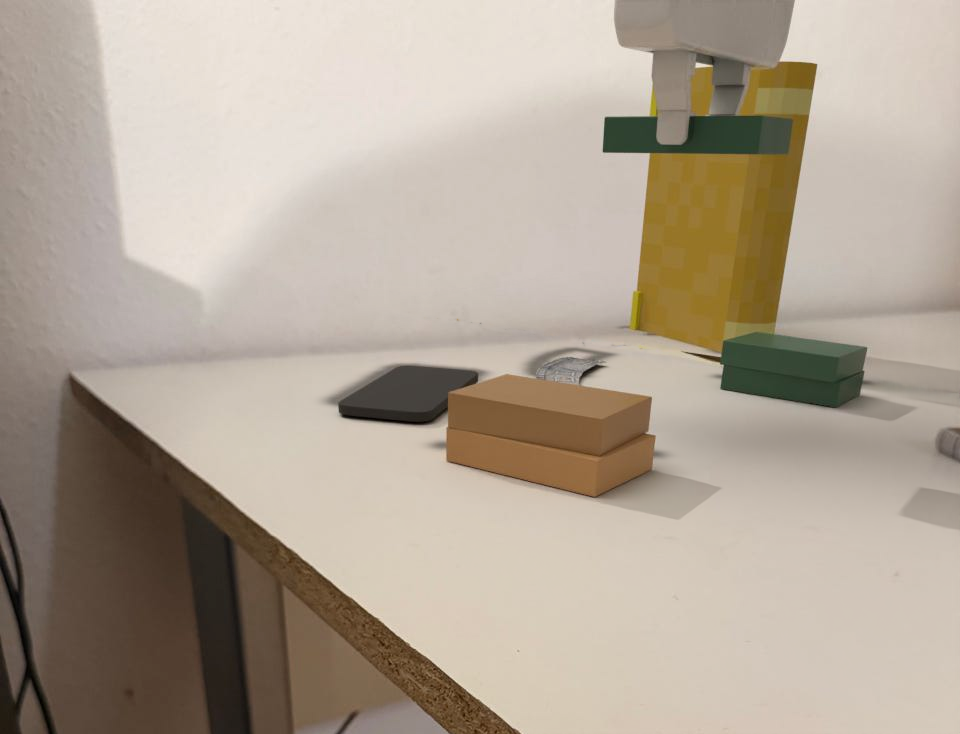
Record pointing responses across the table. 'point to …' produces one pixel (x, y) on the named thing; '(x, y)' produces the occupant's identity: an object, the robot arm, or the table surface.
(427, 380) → the phone
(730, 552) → the table surface
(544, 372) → the coin fragment
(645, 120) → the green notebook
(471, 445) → the tan stack
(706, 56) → the robot arm
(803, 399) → the green stack
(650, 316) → the book
